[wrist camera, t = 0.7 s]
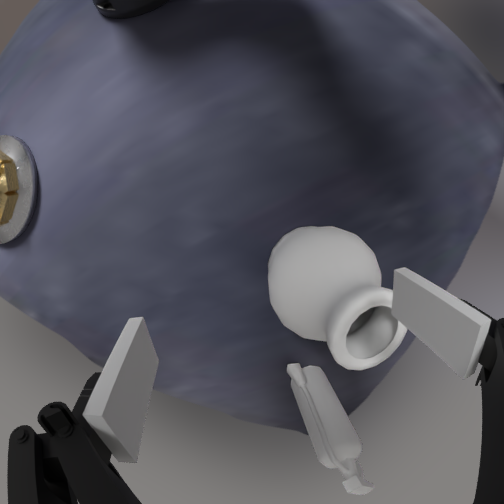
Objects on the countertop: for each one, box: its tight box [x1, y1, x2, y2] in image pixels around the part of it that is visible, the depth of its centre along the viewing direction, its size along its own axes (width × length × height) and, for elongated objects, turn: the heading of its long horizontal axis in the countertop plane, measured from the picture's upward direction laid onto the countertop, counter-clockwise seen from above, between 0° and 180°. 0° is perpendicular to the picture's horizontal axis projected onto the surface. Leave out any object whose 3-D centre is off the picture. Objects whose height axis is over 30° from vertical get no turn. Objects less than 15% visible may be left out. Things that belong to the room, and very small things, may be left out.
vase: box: [268, 226, 407, 370], centre depth 32 cm, size 14×14×20 cm
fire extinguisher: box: [287, 363, 375, 495], centre depth 35 cm, size 7×12×25 cm, turn 36°
